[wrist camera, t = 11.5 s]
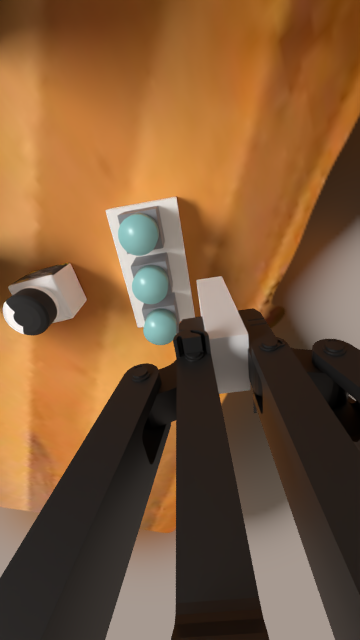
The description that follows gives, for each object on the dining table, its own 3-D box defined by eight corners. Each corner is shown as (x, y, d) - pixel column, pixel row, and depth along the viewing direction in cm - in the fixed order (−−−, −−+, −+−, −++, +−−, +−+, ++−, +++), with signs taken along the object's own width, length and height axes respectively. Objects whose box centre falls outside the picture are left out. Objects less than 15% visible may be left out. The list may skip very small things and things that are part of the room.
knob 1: (133, 245, 39) (123, 258, 32) (125, 212, 36) (113, 218, 30) (164, 240, 38) (160, 252, 32) (157, 206, 36) (152, 211, 29)
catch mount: (140, 319, 48) (133, 343, 41) (110, 208, 39) (95, 214, 32) (194, 311, 47) (197, 334, 40) (176, 196, 38) (175, 199, 31)
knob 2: (143, 286, 42) (136, 306, 35) (136, 258, 39) (127, 273, 33) (172, 282, 41) (170, 301, 34) (166, 253, 39) (163, 267, 32)
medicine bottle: (70, 261, 43) (34, 287, 32) (88, 300, 46) (60, 335, 35) (30, 271, 44) (-17, 300, 33) (50, 309, 47) (13, 346, 36)
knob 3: (152, 322, 45) (147, 347, 38) (146, 297, 42) (140, 319, 36) (178, 318, 44) (178, 342, 37) (174, 293, 42) (173, 314, 35)
